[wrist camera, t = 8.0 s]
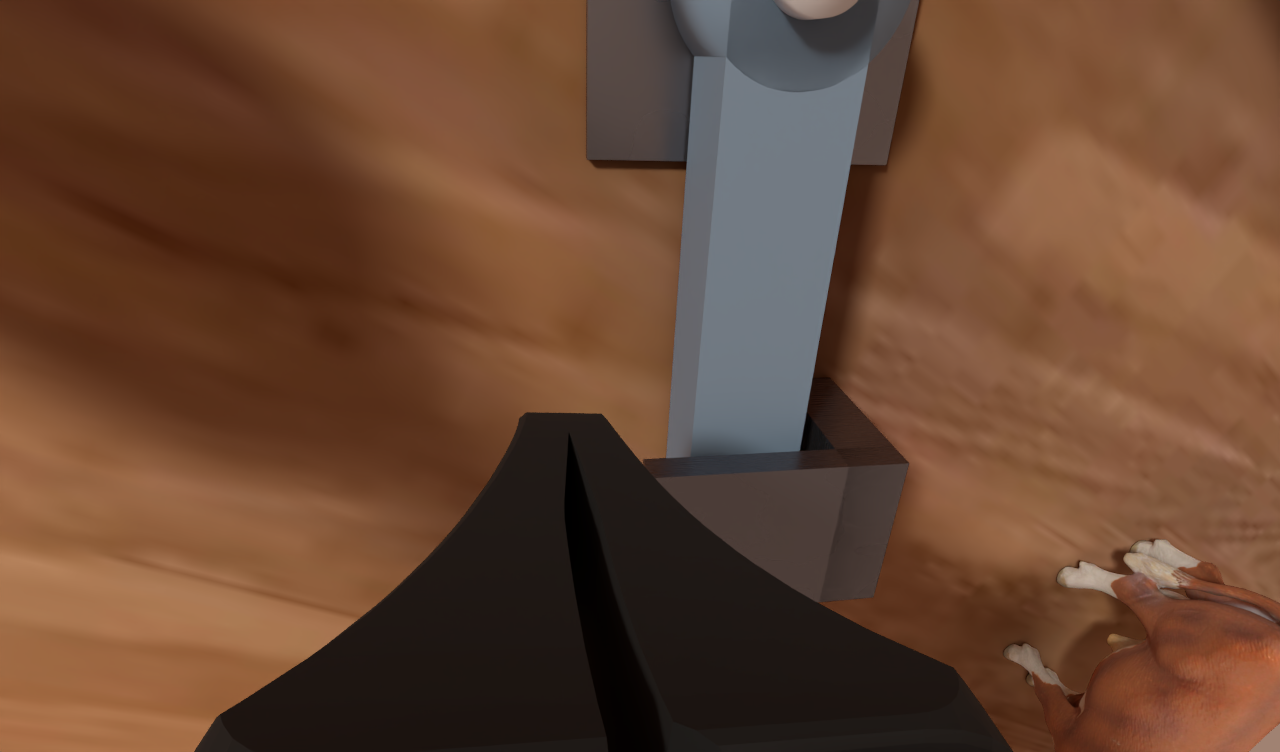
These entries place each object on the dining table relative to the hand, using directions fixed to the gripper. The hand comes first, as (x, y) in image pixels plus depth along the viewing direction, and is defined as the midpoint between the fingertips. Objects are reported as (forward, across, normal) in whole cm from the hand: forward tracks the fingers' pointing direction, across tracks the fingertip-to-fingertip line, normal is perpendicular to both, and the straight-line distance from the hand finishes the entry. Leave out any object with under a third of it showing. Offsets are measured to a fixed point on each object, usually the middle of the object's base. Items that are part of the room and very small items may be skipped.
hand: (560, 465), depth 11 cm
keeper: (+8, -6, +5) cm, 11 cm away
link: (+8, -5, -2) cm, 9 cm away
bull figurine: (+8, -22, +14) cm, 27 cm away
